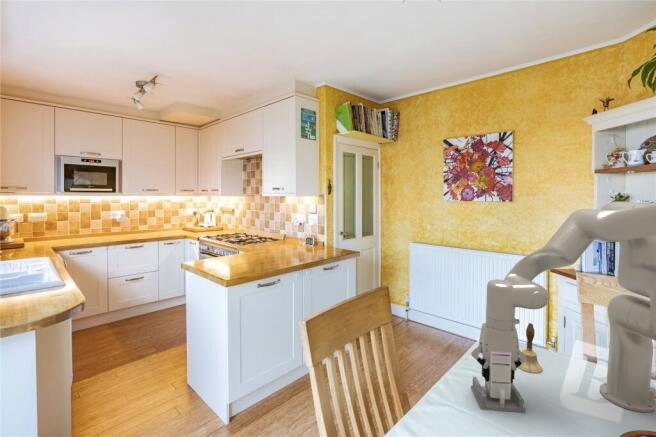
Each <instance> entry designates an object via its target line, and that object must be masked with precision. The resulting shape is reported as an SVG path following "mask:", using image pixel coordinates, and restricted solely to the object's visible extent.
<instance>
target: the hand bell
mask: <svg viewBox="0 0 656 437" xmlns="http://www.w3.org/2000/svg"><path fill="white" fill-rule="evenodd" d="M525 335H526V342H527V343H526V348H525V349H523V350H522V351H521V352H522V353H523V354H524V355H525V356H526V357H527V360H526V361H525V362H523V363H522V364H521V365H520V366H519V367H518V368H517V369H519V370H522V371H524V372H527V373H530V374H540V373H542V372H543V367H542V365H540V363H539V362H538V358H537V353H536V352H535V351H533V340H534V338H535V335H536V334H535V328H534V325H533V323H531V322H528V325H527V327H526V330H525Z"/></svg>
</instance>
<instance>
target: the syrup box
mask: <svg viewBox="0 0 656 437" xmlns="http://www.w3.org/2000/svg"><path fill="white" fill-rule="evenodd" d="M488 368H489V381H488V382H486V380H485V379H484V381H485V382H484V386H485V387H486V389H487V391H488V394H489V396H490V397H491V398H498V399H500V389H504V390H505V399H509V400H510V392H511V352H506V351H491V354H490V360H489V366H488Z"/></svg>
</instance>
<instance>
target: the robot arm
mask: <svg viewBox="0 0 656 437" xmlns="http://www.w3.org/2000/svg"><path fill="white" fill-rule="evenodd" d="M594 241H600V242H605V243H618V242H619V254H618V256H619V257H618V266H617V283H618V285H619V286H620V287H621V288H623V289H624V290H626V291H628V292H631V293H633V294H637V295H640V296H642V297H645V298H649V300H647V299H644V298H641V297H638V296H635V295H631V294H619V295H616V296H614V297H613V298H611V299H610V301H609V302H608V304H607V309H606V310H607V318H608V323H609V345H608V346H609V347H608V356H607V357H608V360H607V371H606V373H607V374H606V382H604V383H602V384H600V385H599V393H600V394H601V395H602V396H603V397H604V399H607V400H608V401H609V402H611V403H613V404H615V405H617V406H618V407H622V408H624V409H627V410H631V411H635V412H638V413H639V412H640V413H652V412H654V411H656V410H655V409H656V401H655V400H656V387H654V386H651V383H652V382H651V380H652V370H653V359H654V358H653V356H654V342H653V341H655V342H656V203H652V202H636V201H635V202H634V201H612V202H607V203H605V204H604V205H602V207H601V208H600V209H599V208H598V209H597V208H596V209H595V208H581V209H577V210H574V211H573V212H571V213H570V214H569V216H568V217H567V218H566V219H565V220H564V222H563V223H562V224H561V225H560V226H559V228H558V229H557V230H556V231H555V232H554V234H553V235H552V236H551V237H550V238H549V240H548V241H547V242H546V243H545V244H544V245H543V246H542V247H540V248H538V249H537V250H535V251H533V252H531V253H529V254H528V255H525V256H524V257H523V258H521V259H520V260H519V261H517V262H516V263H515V264H514V266H513V267H512V268H511V269H510V271H509V272H508V273H507V274H506V275H505V277H504V279H492V280H489V281H488V282H487V284H486V301H485V302H486V303H485V305H486V306H485V307H486V308H485V322H484V323H482V325H481V329H480V332H479V334H480V335H479V338H478V339H479V341H478V346H477V347H476V348H474V349H473V350H472V351H471V352H470V355H471V356H472V357H473V358H474V360H475V361H476V362H478V363H479V364H480V366H481V377H482V378H484V381H485V380H486V382H488V381H489V368H488V366H489V360H490V354H491V351H506V352H511V384H513V385H514V380H515V372H516V371H517V369H519V368H518V367H519V366H520V365H521V364H522V363H523V362H525V361H526V360H527V357H526V356H525V355H524V354H523V353H522V351H521V350H520V343H519V336H518V331H517V329H518V328H516V325H520V323H521V322H520V319H519V318H516V317H515V315H516V308H520V309H528V310H541V309H543V308H545V307H546V306H547V305H548V304H549V301H550V294H549V292H548V290H547V289H546V288H545V287H544V286H542V285H541V284H538V283H537V282H534V279H535V278H536V277H538V276H539V275H540V274H542V273H543V272H546V271H549V270H553V269H560V268H566V267H570V266H572V265H574V264H575V263H577V261H578V260H579V259H580V257H581V256H582V255H583V254H584V253H585V252H586V250H587V249H588V248H589V246H591V244H593V242H594ZM480 354H481V355H482V357H481V356H480Z"/></svg>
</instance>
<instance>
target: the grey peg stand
mask: <svg viewBox="0 0 656 437" xmlns="http://www.w3.org/2000/svg"><path fill="white" fill-rule="evenodd" d="M470 389H471V392H472V393H473V396H474V399H475V400H476V403H477V405H478V406H479V408H480V410H488V411H497V412H498V411H499V412H506V413H507V412H510V413H520V414H526V409H525V407H524V406H525V405H524V403H525V400H524V398H523V397H522V395H521V393H520V392H519V390H518V389H517V388H516V385H514V383H513V384H511V392H510V400H509V399H505V390H504V389H500V399H498V398H491V397H490V396H489V394H488V391H487V389H486V387H485V385H482V384H481V383H480V381H479V379H478V377H477V376H472V384H471V385H470Z"/></svg>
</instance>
